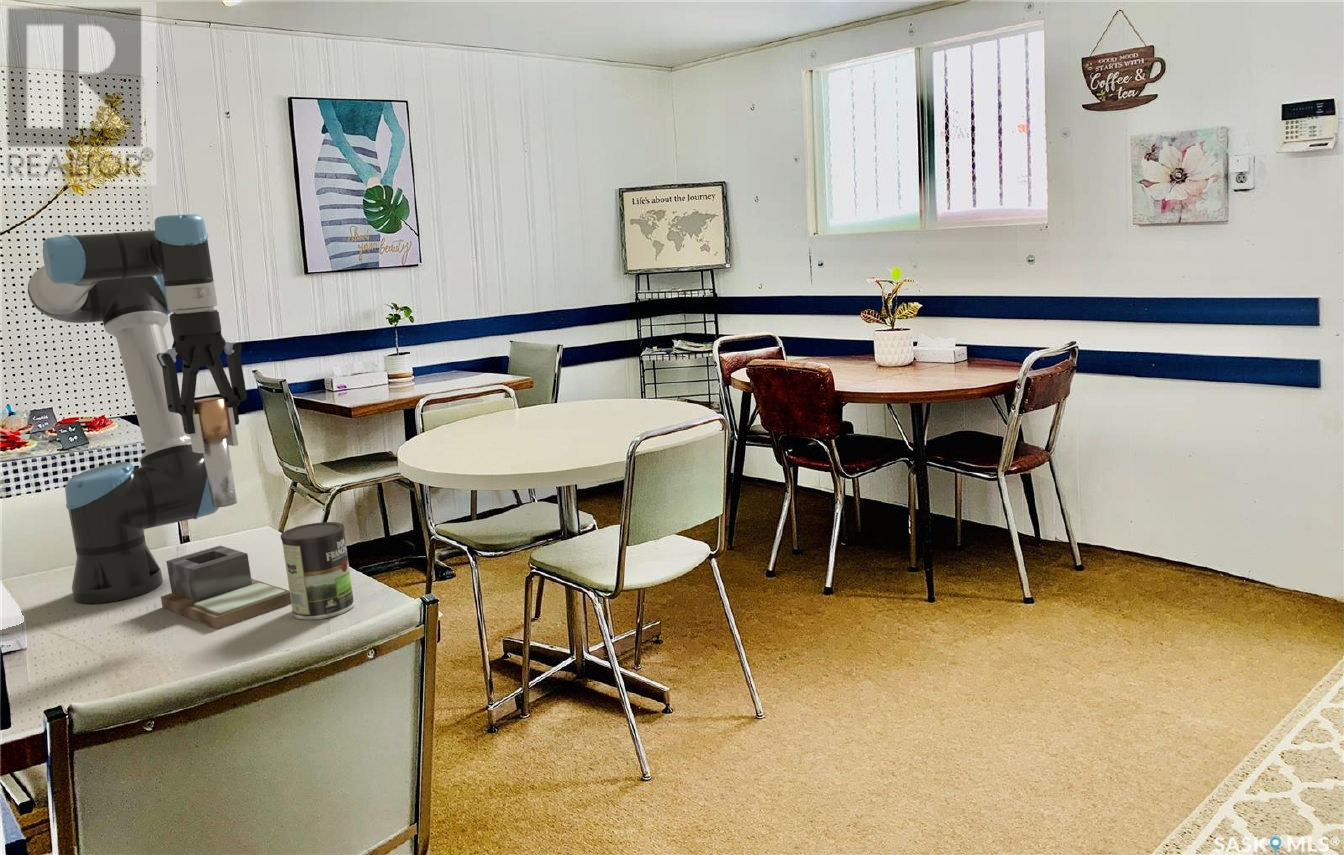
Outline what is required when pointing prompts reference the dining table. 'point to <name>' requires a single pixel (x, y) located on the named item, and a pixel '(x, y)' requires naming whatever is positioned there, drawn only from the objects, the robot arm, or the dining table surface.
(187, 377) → the robot arm
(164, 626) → the dining table surface
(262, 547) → the dining table surface
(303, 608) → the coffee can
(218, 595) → the board
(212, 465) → the peg
